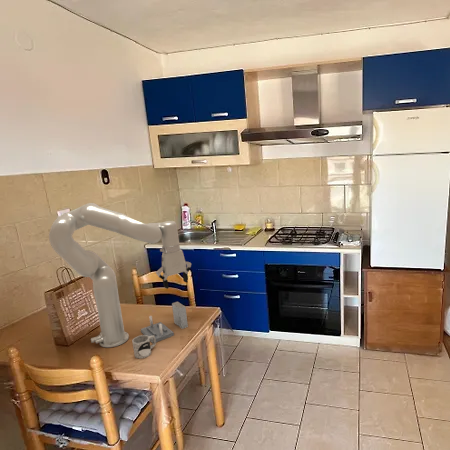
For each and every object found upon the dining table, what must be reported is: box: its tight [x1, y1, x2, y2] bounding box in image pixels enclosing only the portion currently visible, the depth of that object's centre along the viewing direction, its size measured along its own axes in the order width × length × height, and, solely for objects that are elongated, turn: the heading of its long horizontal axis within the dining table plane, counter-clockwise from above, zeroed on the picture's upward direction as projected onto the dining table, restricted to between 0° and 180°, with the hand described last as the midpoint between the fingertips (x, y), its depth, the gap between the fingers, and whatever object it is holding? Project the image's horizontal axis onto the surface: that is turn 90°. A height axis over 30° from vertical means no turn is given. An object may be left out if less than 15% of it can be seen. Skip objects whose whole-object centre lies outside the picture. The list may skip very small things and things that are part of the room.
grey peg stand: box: [140, 315, 175, 344], centre depth 163 cm, size 14×10×6 cm
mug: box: [131, 334, 157, 359], centre depth 148 cm, size 10×7×7 cm, turn 137°
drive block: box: [171, 301, 189, 330], centre depth 169 cm, size 8×3×10 cm, turn 34°
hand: (176, 284), depth 167 cm, fingers open, 9 cm apart
